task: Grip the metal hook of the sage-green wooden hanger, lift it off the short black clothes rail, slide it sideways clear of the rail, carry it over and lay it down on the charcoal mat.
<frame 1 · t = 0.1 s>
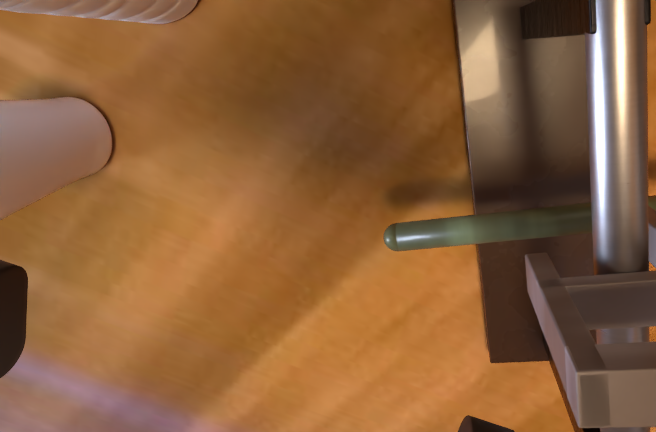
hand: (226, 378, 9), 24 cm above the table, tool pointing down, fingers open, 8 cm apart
drinking glass: (82, 135, 36), on the table
rail stand: (542, 182, 31), on the table
hanger: (570, 219, 24), point 7 cm above the table, touching rail stand
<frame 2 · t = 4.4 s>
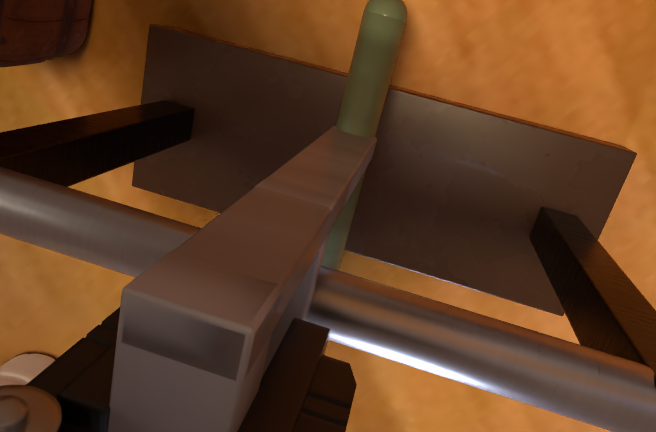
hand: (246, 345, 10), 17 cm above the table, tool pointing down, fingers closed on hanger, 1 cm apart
rail stand: (362, 164, 25), on the table
hanger: (336, 205, 19), point 7 cm above the table, touching gripper, rail stand
water bottle: (41, 400, 35), on the table
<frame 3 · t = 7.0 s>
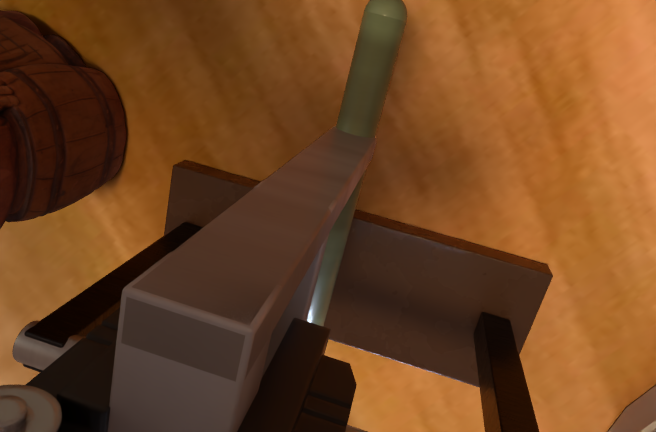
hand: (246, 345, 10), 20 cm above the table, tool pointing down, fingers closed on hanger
wooden figurine: (63, 95, 32), on the table
rail stand: (342, 270, 32), on the table
hanger: (336, 205, 19), point 11 cm above the table, touching gripper
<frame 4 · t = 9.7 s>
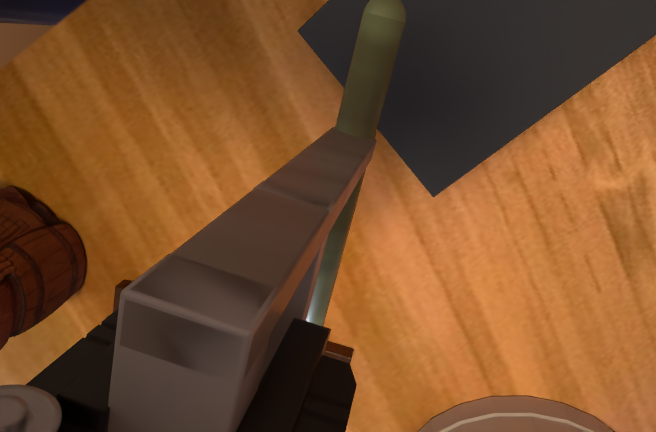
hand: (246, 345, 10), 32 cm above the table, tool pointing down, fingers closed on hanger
wooden figurine: (44, 236, 49), on the table
rail stand: (229, 349, 49), on the table
hanger: (335, 206, 19), point 22 cm above the table, touching gripper
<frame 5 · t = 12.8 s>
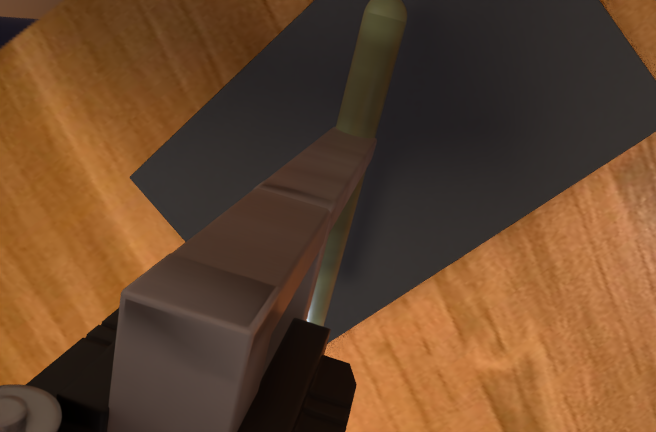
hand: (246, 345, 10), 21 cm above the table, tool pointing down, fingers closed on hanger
hanger: (336, 206, 19), point 11 cm above the table, touching gripper
mat: (372, 148, 30), on the table
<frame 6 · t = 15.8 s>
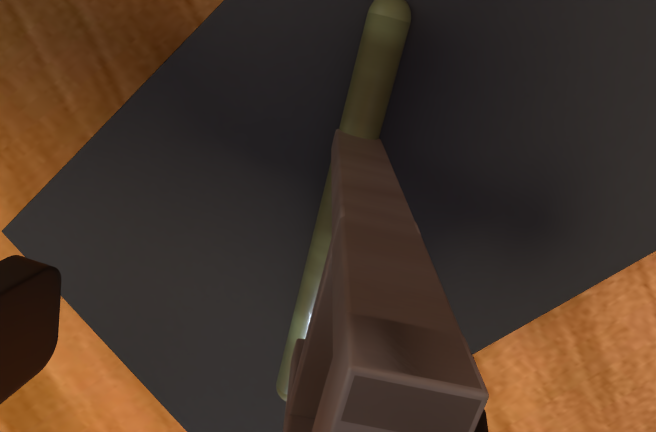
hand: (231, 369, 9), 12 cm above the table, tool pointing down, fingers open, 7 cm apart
hanger: (339, 208, 19), point 1 cm above the table, tilted 11°, touching gripper, mat
mat: (341, 196, 20), on the table
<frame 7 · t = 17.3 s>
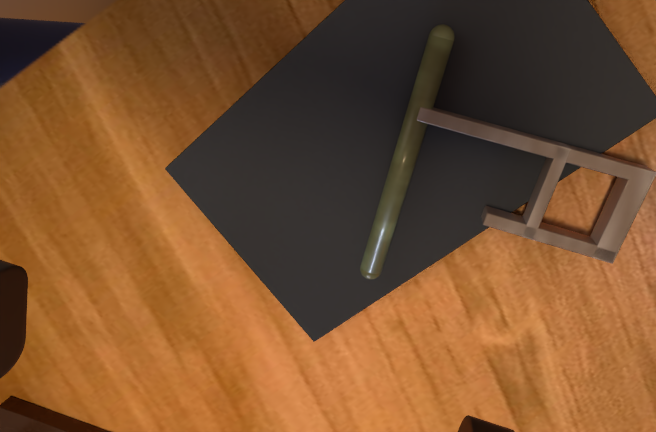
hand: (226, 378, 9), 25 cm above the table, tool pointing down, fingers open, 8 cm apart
hanger: (406, 151, 31), point 1 cm above the table, tilted 90°, touching mat
mat: (388, 141, 33), on the table
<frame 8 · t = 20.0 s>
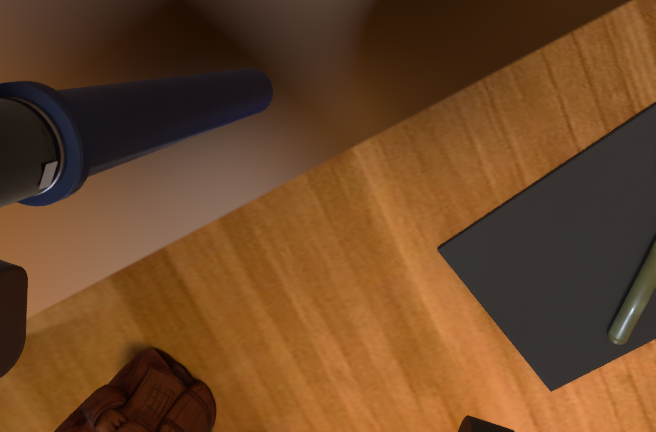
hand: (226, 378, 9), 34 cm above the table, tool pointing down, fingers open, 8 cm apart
wooden figurine: (177, 389, 54), on the table
mat: (640, 233, 40), on the table
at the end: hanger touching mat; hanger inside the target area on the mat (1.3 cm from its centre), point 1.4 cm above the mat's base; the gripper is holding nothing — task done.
